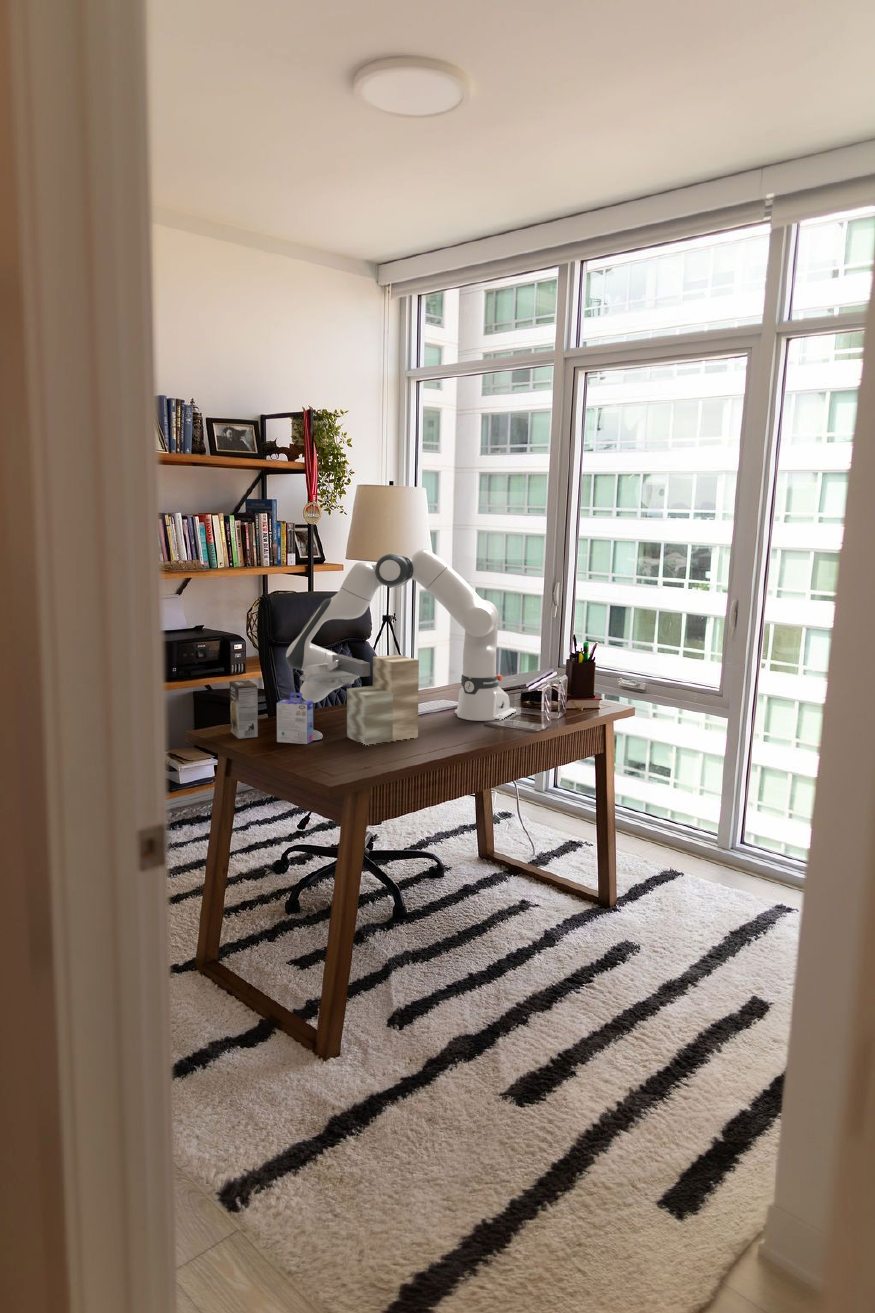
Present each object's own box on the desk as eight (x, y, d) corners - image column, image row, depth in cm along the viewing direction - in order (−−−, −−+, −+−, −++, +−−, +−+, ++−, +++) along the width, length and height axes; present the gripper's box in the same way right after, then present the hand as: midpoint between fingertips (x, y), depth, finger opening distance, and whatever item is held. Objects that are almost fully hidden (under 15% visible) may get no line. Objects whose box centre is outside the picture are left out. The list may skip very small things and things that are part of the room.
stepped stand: (347, 736, 272) (346, 659, 268) (397, 729, 282) (398, 654, 278) (366, 745, 262) (366, 665, 258) (418, 737, 272) (418, 660, 268)
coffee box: (230, 732, 276) (228, 681, 273) (250, 730, 279) (249, 679, 276) (237, 739, 268) (236, 686, 265) (258, 736, 271) (257, 684, 268)
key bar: (332, 667, 283) (332, 655, 283) (340, 666, 285) (340, 654, 284) (361, 676, 268) (361, 663, 267) (370, 676, 269) (370, 662, 269)
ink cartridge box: (314, 740, 268) (314, 692, 265) (308, 744, 262) (307, 696, 260) (283, 738, 270) (282, 691, 267) (276, 742, 264) (275, 694, 262)
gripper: (295, 671, 286) (311, 655, 275) (352, 665, 297) (369, 650, 286) (300, 689, 284) (316, 674, 273) (356, 683, 295) (374, 668, 284)
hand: (344, 661), depth 279 cm, fingers closed on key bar, 3 cm apart
